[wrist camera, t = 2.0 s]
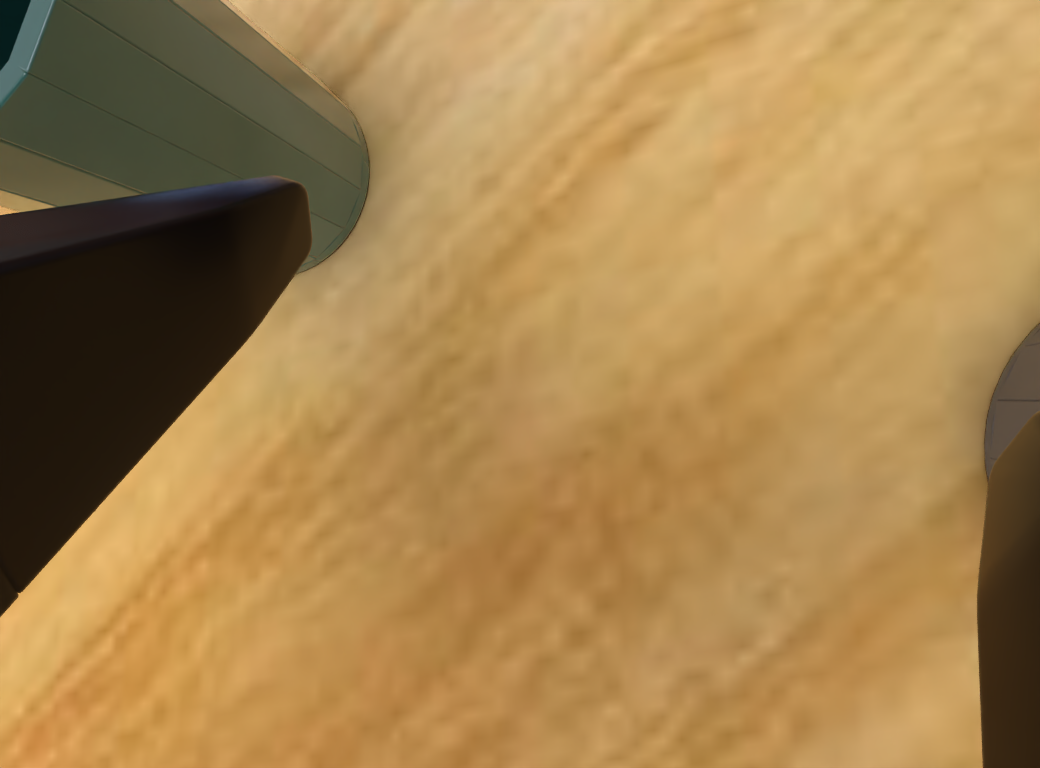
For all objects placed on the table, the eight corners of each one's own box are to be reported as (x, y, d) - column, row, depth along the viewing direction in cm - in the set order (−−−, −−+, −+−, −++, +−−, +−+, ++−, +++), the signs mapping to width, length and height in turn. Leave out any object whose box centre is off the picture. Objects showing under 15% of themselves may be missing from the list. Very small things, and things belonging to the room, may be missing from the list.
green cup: (321, 308, 25) (-30, 224, 13) (162, 233, 26) (-291, 92, 14) (401, 117, 24) (115, -164, 12) (234, 51, 26) (-172, -259, 13)
